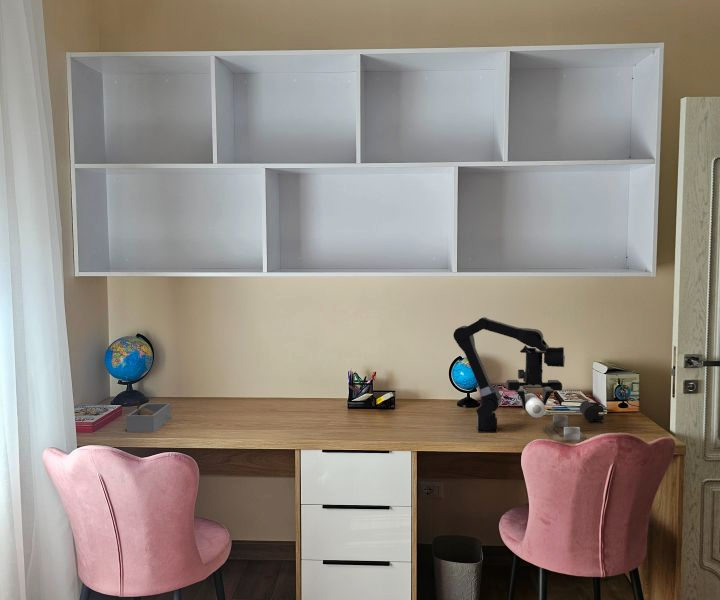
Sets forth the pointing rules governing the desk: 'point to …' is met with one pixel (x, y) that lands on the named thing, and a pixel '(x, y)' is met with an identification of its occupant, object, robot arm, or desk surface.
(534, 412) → the paper roll
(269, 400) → the desk surface
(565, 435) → the roll holder
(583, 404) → the end cap
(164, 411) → the box
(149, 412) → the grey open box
